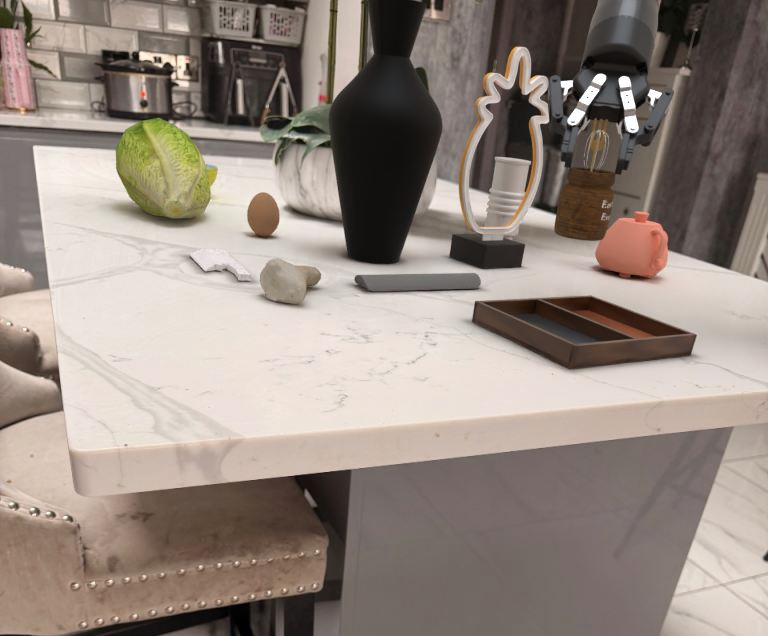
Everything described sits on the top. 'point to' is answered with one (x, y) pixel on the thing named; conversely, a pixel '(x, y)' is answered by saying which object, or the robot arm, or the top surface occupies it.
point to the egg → (263, 214)
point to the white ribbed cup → (506, 192)
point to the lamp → (490, 242)
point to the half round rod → (418, 281)
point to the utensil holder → (586, 197)
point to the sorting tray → (582, 330)
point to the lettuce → (163, 170)
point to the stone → (287, 281)
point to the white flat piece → (219, 262)
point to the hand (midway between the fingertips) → (593, 165)
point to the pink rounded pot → (633, 247)
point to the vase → (384, 137)
